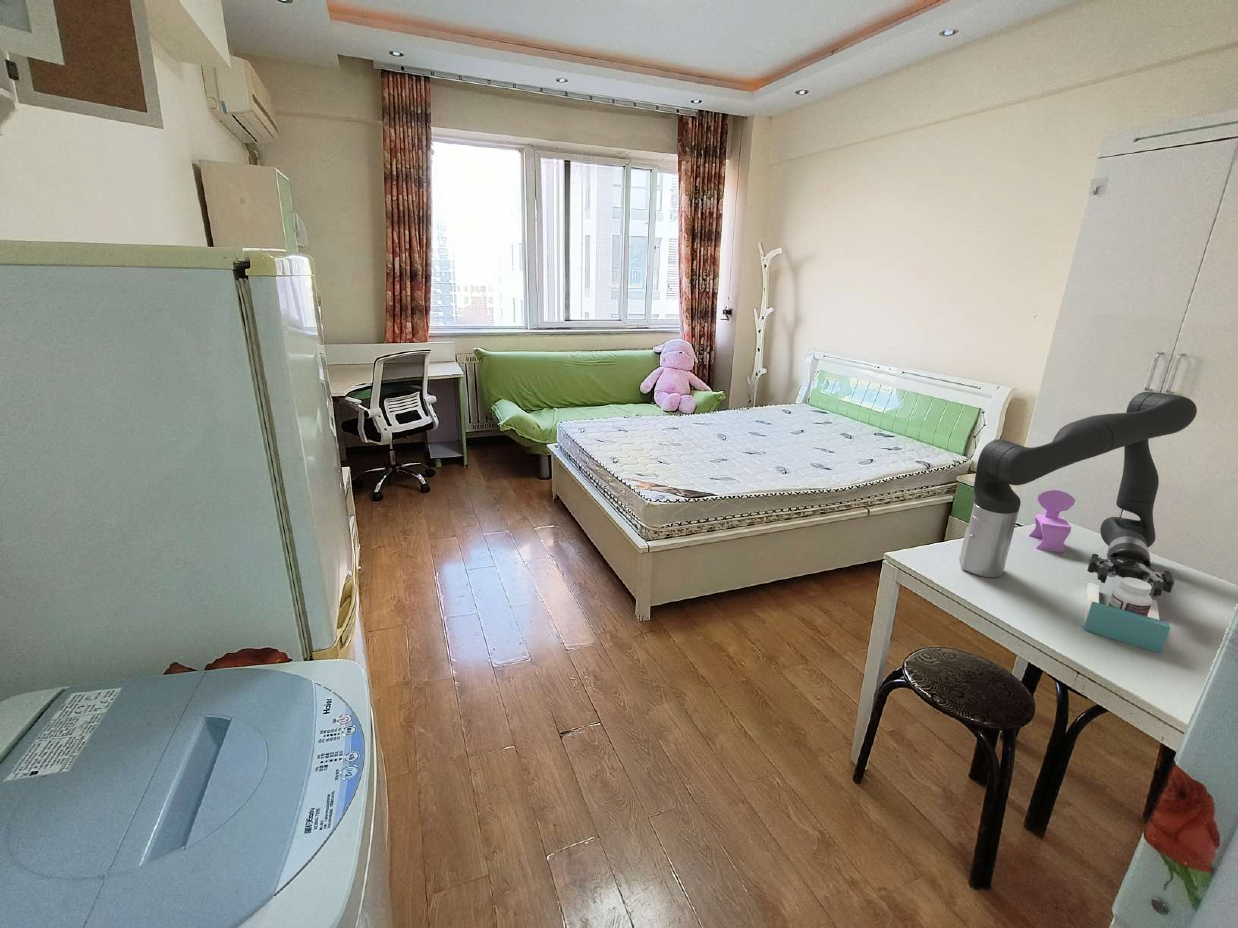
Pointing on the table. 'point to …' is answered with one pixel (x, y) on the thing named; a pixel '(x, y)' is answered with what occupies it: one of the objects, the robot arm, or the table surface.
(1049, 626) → the table surface
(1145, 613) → the pill bottle
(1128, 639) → the guide
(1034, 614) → the table surface
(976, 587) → the table surface
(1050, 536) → the toy chair
